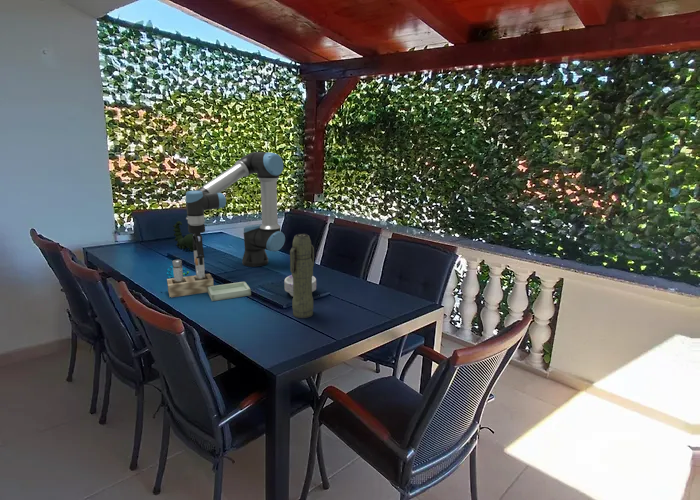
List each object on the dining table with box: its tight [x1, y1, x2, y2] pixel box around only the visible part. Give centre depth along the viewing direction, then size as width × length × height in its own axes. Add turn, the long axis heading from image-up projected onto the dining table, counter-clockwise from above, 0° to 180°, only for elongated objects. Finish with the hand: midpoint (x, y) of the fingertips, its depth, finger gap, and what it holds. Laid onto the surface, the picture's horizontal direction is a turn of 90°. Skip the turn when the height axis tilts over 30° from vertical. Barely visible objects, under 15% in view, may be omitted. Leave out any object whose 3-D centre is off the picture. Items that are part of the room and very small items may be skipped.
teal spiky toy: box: [166, 265, 190, 279], centre depth 220 cm, size 11×6×10 cm
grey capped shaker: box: [172, 259, 184, 283], centre depth 201 cm, size 4×4×16 cm
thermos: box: [289, 233, 315, 319], centre depth 177 cm, size 9×12×35 cm
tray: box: [207, 281, 252, 302], centre depth 202 cm, size 18×12×3 cm, turn 117°
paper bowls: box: [283, 274, 317, 297], centre depth 202 cm, size 15×15×8 cm
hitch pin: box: [194, 258, 206, 280], centre depth 205 cm, size 4×4×16 cm
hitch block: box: [166, 273, 215, 298], centre depth 204 cm, size 20×10×6 cm, turn 117°
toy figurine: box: [172, 220, 195, 252], centre depth 274 cm, size 9×19×25 cm
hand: (199, 267), depth 204 cm, fingers open, 13 cm apart
